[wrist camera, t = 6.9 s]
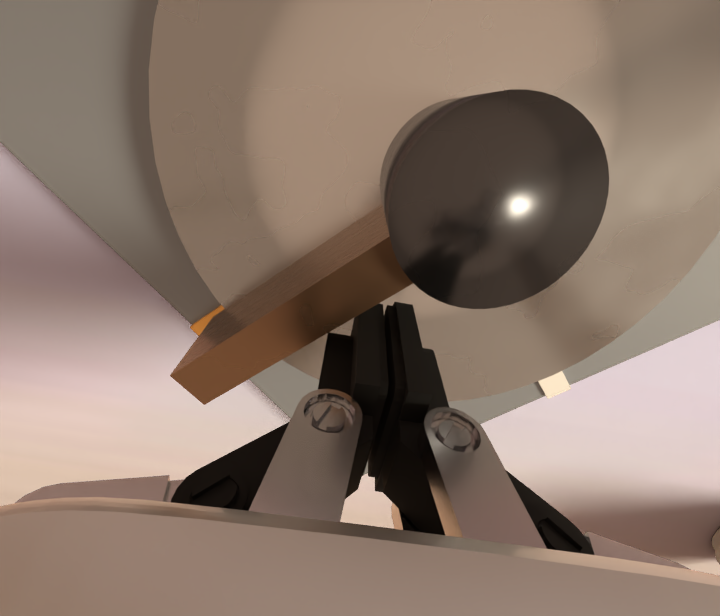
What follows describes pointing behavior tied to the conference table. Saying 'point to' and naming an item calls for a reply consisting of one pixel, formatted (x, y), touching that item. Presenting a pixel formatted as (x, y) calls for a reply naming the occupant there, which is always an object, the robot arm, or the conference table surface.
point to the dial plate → (145, 195)
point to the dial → (434, 174)
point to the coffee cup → (716, 544)
